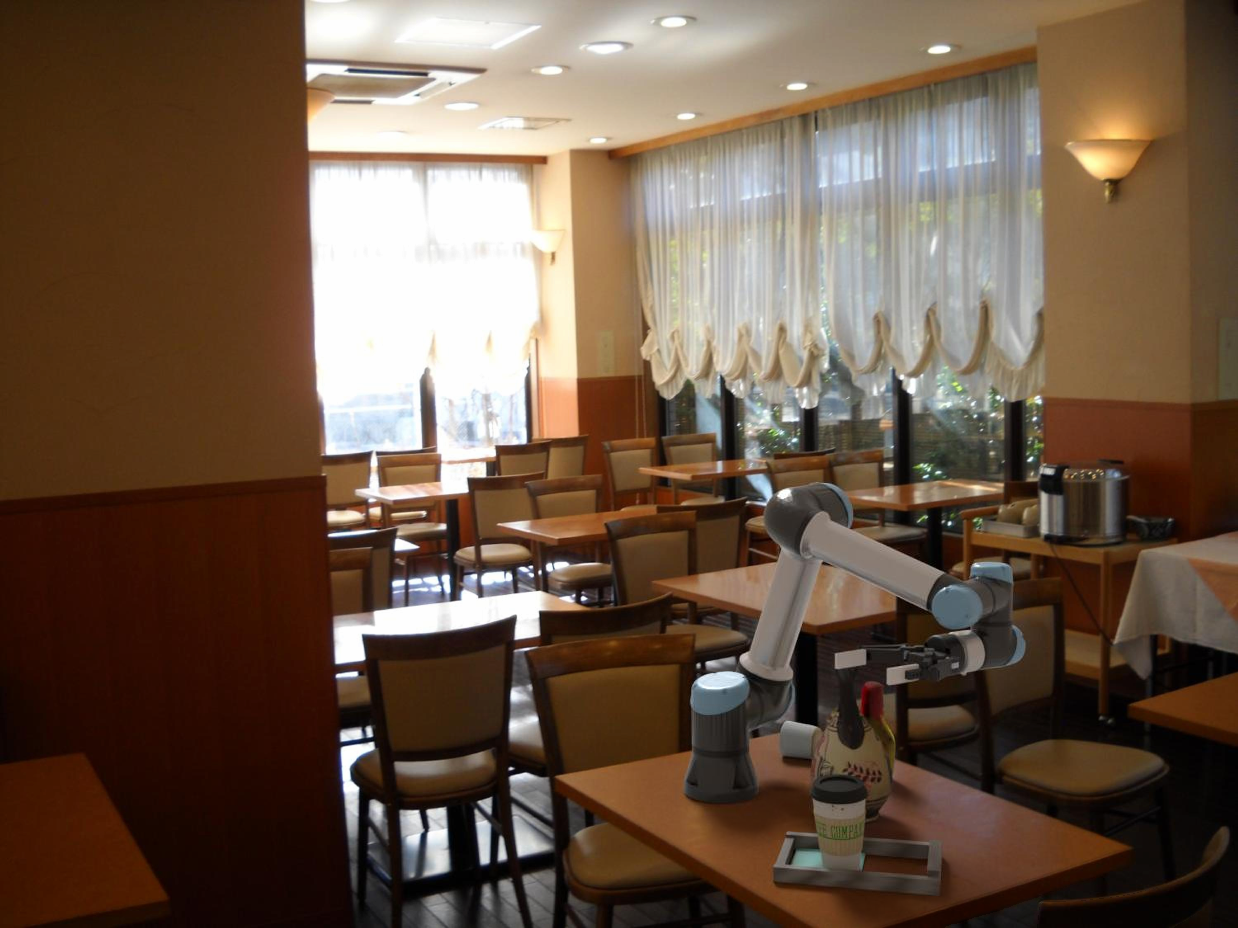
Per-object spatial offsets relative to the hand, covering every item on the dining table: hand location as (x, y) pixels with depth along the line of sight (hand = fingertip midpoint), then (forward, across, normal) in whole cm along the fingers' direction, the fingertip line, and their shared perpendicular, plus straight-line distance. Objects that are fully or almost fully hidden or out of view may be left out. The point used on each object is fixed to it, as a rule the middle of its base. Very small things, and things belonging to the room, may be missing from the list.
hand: (861, 668), depth 223 cm
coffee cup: (+7, -3, -33) cm, 34 cm away
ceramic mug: (-28, +53, -34) cm, 69 cm away
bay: (+4, -4, -33) cm, 34 cm away
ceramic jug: (-11, +16, -34) cm, 39 cm away
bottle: (-31, +34, -34) cm, 57 cm away
